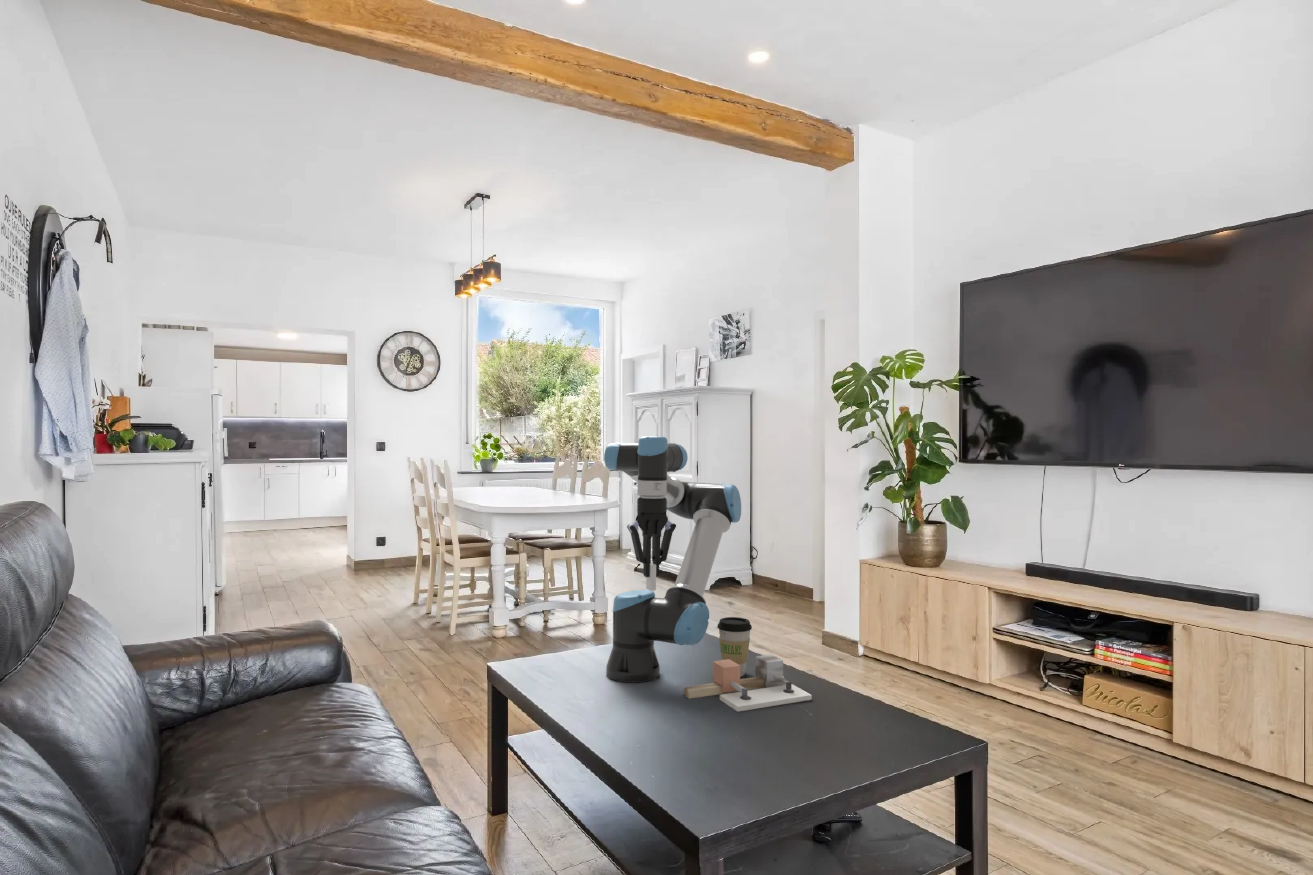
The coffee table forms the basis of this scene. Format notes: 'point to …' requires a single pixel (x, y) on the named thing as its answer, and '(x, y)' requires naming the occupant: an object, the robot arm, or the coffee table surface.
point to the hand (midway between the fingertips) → (651, 589)
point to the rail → (766, 676)
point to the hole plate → (765, 697)
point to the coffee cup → (735, 640)
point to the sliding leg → (728, 676)
